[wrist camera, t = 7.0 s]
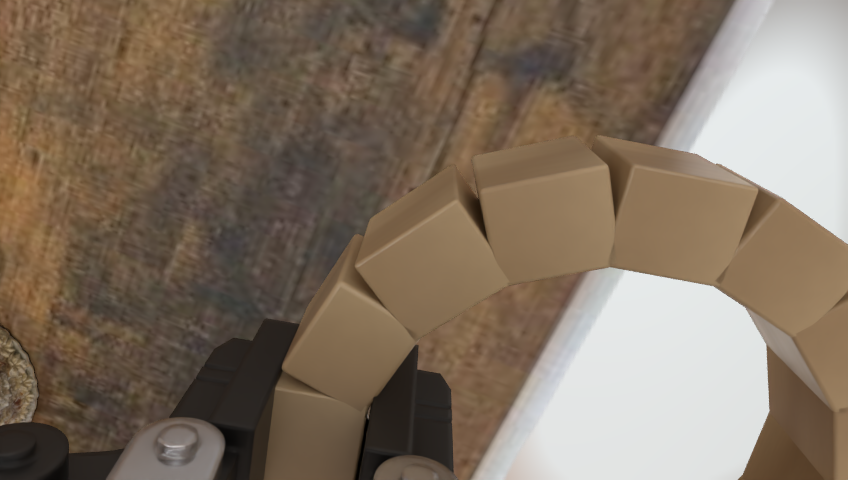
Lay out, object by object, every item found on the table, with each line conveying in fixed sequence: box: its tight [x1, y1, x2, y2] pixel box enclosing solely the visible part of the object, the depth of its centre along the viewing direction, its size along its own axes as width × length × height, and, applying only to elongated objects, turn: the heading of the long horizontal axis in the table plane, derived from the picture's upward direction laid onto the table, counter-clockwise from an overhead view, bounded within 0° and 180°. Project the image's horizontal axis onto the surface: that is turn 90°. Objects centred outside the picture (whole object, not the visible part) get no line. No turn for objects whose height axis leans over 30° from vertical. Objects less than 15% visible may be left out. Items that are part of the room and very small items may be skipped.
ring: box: [264, 135, 848, 480], centre depth 12 cm, size 11×11×2 cm
